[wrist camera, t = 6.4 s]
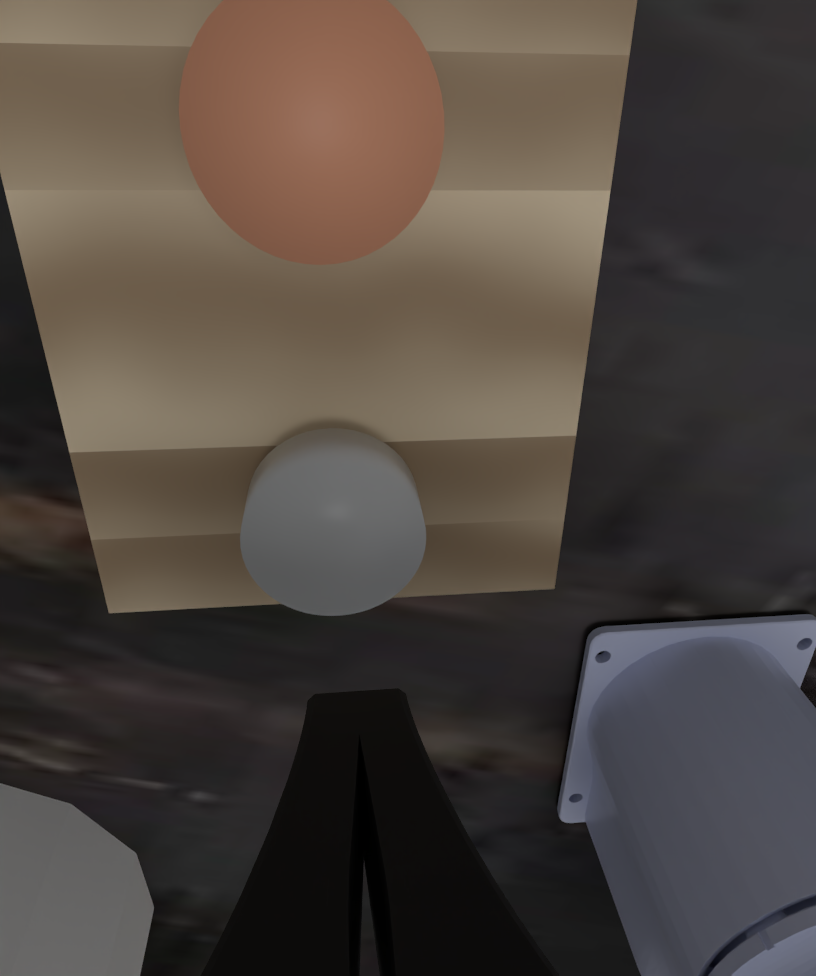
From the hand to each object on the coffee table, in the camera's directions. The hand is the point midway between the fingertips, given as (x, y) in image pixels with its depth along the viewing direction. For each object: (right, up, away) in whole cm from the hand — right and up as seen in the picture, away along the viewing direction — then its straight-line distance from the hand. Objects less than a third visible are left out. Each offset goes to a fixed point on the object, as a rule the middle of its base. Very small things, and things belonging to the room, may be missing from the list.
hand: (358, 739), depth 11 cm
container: (-17, -12, +17) cm, 26 cm away
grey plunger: (-1, +4, +8) cm, 9 cm away
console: (-1, +8, +7) cm, 11 cm away
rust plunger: (-1, +11, +4) cm, 12 cm away
